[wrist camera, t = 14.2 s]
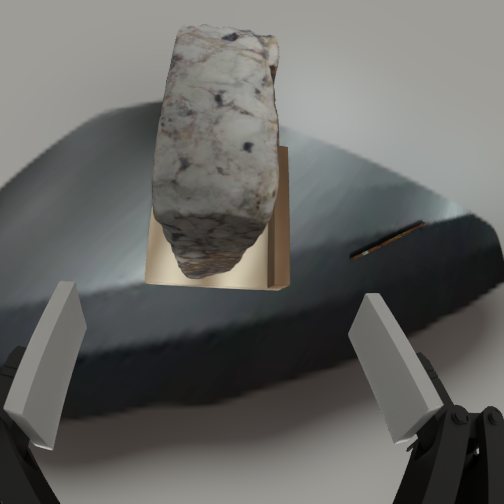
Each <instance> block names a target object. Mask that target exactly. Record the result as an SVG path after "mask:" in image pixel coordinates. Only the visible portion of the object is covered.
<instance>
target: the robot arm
mask: <svg viewBox="0 0 504 504" xmlns="http://www.w3.org/2000/svg"><path fill="white" fill-rule="evenodd" d="M86 328H87V327H86V323H85V320H84V316H83V312H82V308H81V305H80V301H79V296H78V292H77V288H76V284H75V282H69V281H60V282H59V284H58V286H57V287H56V289H55V291H54V293H53V295H52V297H51V299H50V301H49V303H48V305H47V307H46V308H45V310H44V312H43V315H42V317H41V319H40V321H39V323H38V325H37V327H36V329H35V331H34V333H33V335H32V338H31V340H30V342H29V344H28V347H27V348H26V347H21V346H17V347H16V348H15V349H14V350H13V351H12V352H11V353H10V354H9V356H8V359H7V361H6V363H5V367H4V368H3V370H2V372H1V376H0V504H60V502H59V501H58V499H57V497H56V496H55V494H54V493H53V491H52V489H51V487H50V486H49V484H48V482H47V480H46V479H45V477H44V475H43V473H42V472H41V470H40V468H39V466H38V464H37V462H36V460H35V458H34V456H33V454H32V452H31V450H30V449H29V447H28V444H29V440H31V441H32V442H33V444H34V445H35V446H38V447H42V448H45V449H49V450H53V447H54V442H55V437H56V433H57V428H58V424H59V420H60V415H61V411H62V407H63V404H64V400H65V396H66V392H67V389H68V385H69V382H70V378H71V375H72V371H73V368H74V365H75V361H76V358H77V355H78V352H79V349H80V346H81V343H82V340H83V337H84V334H85V331H86ZM348 336H349V338H350V340H351V342H352V345H353V347H354V349H355V351H356V354H357V356H358V358H359V360H360V363H361V365H362V367H363V369H364V372H365V374H366V376H367V379H368V381H369V383H370V386H371V388H372V391H373V393H374V395H375V398H376V400H377V402H378V405H379V407H380V410H381V412H382V414H383V417H384V419H385V422H386V424H387V427H388V429H389V432H390V434H391V437H392V439H393V442H394V444H397V443H401V442H404V441H408V440H409V439H410V438H411V437H412V436H414V434H417V436H418V439H417V440H416V441H415V442H414V443H413V444H411V445H410V446H409V447H408V448H407V450H406V451H407V452H408V451H410V450H411V449H412V448H413V450H412V452H411V456H410V459H409V462H408V465H407V468H406V471H405V474H404V476H403V479H402V481H401V484H400V487H399V489H398V492H397V494H396V496H395V499H394V501H393V504H504V419H503V416H502V414H501V412H500V411H499V410H498V409H497V408H495V407H493V406H488V407H487V408H485V409H484V410H483V411H482V412H481V413H468V412H467V411H466V409H465V408H463V407H462V406H459V405H454V404H453V402H452V401H451V399H450V397H449V395H448V393H447V392H446V390H445V388H444V386H443V384H442V382H441V381H440V379H439V378H438V375H437V374H436V372H435V371H434V369H433V367H432V365H431V363H430V361H429V360H428V359H427V358H426V357H425V356H424V355H423V354H422V353H421V352H420V353H415V352H414V350H413V348H412V347H411V345H410V343H409V341H408V340H407V338H406V336H405V335H404V333H403V331H402V330H401V328H400V326H399V325H398V323H397V321H396V320H395V318H394V316H393V315H392V313H391V312H390V310H389V308H388V307H387V305H386V304H385V302H384V300H383V299H382V297H381V296H380V294H379V293H366V294H365V296H364V299H363V301H362V304H361V306H360V308H359V311H358V313H357V315H356V318H355V320H354V322H353V324H352V327H351V329H350V331H349V333H348ZM478 448H479V454H477V452H476V449H478ZM1 501H2V503H1Z"/></svg>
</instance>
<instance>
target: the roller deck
mask: <svg viewBox="0 0 504 504" xmlns="http://www.w3.org/2000/svg"><path fill="white" fill-rule="evenodd" d="M278 159H279V185H278V192H277V198H276V201H275V204H274V209H273V213H272V216H271V218H270V220H269V221H268V223H267V226H266V228H265V230H264V232H263V234H261V235H260V236H259V237H258V239H257V241H256V242H255V244H254V245H253V246H252V247H250V248H247V250H246V251H245V253H244V254H243V256H242V259H241V261H240V262H239V263H237V264H236V265H235V266H234V268H232V269H231V271H229V272H225V273H220V274H215V275H212V276H207V277H205V278H203V279H190V278H187V277H186V276H185V275H184V274H183V273H182V271H181V269H180V268H179V267H178V263H177V260H176V259H175V256H174V253H173V252H172V249H171V245H170V243H169V242H168V241H167V240H166V238H165V235H164V233H163V229H162V225H161V224H160V223H158V222H157V221H156V220H155V218H154V215H153V206H152V212H151V220H150V228H149V238H148V248H147V258H146V270H145V282H146V283H147V284H161V285H177V286H193V287H212V288H232V289H254V290H280V289H282V288H285V287H287V286H289V285H290V218H289V171H288V147H284V146H279V151H278Z"/></svg>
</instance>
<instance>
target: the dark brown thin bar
mask: <svg viewBox="0 0 504 504" xmlns="http://www.w3.org/2000/svg"><path fill="white" fill-rule="evenodd" d="M424 225H426V223H425V222H423V223H421V224H419V225H417V226H415V227H413V228H411V229H409V230H407V231H405V232H403V233H401V234H399V235H398V236H395V237H393V238H391V239H389V240H387V241H385V242H383V243H381V244H379V245H377V246H375V247H373V248H371V249H369V250H367V251H365V252H363V253H360V254H358V255H356V256H354V257H352V258H350V260H351V261H353V260H355V259H358V258H360V257H362V256H364V255H366V254H368V253H370V252H372V251H374V250H376V249H378V248H380V247H382V246H384V245H386V244H388V243H390V242H392V241H394V240H396V239H398V238H400V237H402V236H404V235H406V234H408V233H410V232H412V231H414V230H416V229H418V228H420V227H422V226H424Z"/></svg>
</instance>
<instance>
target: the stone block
mask: <svg viewBox="0 0 504 504" xmlns="http://www.w3.org/2000/svg"><path fill="white" fill-rule="evenodd" d="M278 60H279V46H278V42H277V39H276V38H275V36H272V35H268V36H261V35H258V34H256V33H254V32H252V31H251V30H240V29H236V28H227V27H223V28H218V27H212V26H209V25H207V24H203V25H197V26H182V27H181V28H180V29H179V31H178V34H177V37H176V41H175V45H174V50H173V54H172V59H171V64H170V69H169V73H168V77H167V80H166V90H165V94H164V99H163V104H162V108H161V114H160V119H159V124H158V131H157V138H156V146H155V152H154V159H153V174H152V206H153V215H154V218H155V220H156V221H157V222H158V223H160V224H161V225H162V229H163V233H164V235H165V238H166V240H167V241H168V242H169V243H170V245H171V249H172V252H173V253H174V256H175V259H176V260H177V263H178V267H179V268H180V269H181V271H182V273H183V274H184V275H185V276H186V277H187V278H190V279H203V278H205V277H207V276H212V275H215V274H220V273H225V272H229V271H231V269H232V268H234V266H235V265H236V264H237V263H239V262H240V261H241V259H242V256H243V254H244V253H245V251H246V250H247V248H250V247H252V246H253V245H254V244H255V242H256V241H257V239H258V237H259V236H260V235H261V234H263V232H264V230H265V228H266V226H267V223H268V221H269V220H270V218H271V216H272V213H273V209H274V204H275V201H276V198H277V192H278V185H279V159H278V151H279V123H278V115H277V110H276V106H275V91H274V80H275V75H276V71H277V67H278Z"/></svg>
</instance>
